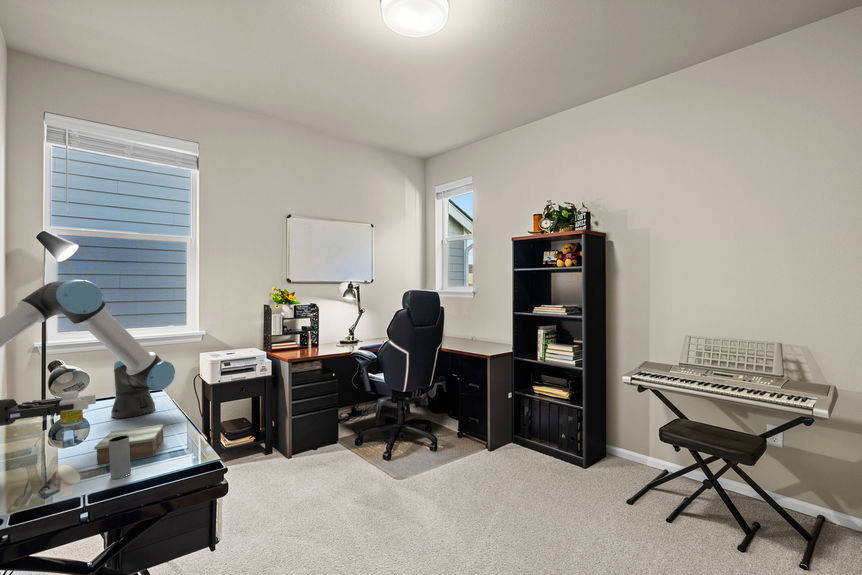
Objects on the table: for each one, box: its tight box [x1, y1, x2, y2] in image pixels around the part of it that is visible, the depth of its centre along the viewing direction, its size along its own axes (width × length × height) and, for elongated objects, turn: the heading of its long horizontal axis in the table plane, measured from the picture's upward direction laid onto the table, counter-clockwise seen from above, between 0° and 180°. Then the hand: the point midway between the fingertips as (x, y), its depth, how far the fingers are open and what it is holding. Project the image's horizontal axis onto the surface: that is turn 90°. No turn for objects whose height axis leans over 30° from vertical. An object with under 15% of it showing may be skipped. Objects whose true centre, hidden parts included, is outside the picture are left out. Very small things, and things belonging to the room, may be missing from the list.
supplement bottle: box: [59, 390, 84, 427], centre depth 133 cm, size 5×5×10 cm
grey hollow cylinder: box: [109, 435, 132, 480], centre depth 119 cm, size 4×4×10 cm
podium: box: [93, 423, 165, 466], centre depth 136 cm, size 15×15×6 cm
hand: (91, 401), depth 135 cm, fingers closed on supplement bottle, 5 cm apart
